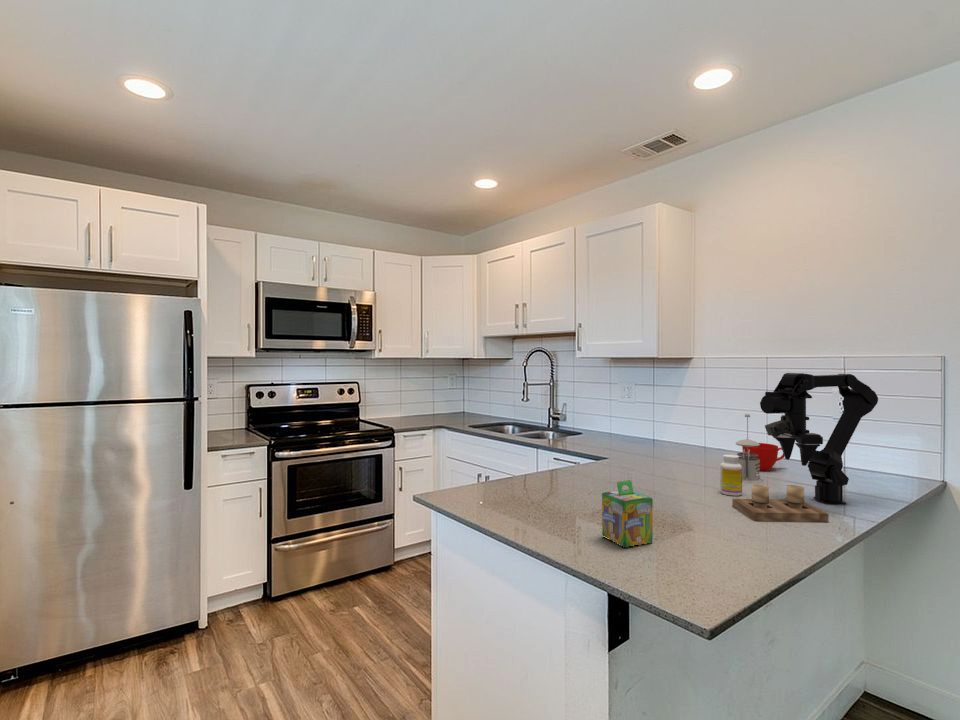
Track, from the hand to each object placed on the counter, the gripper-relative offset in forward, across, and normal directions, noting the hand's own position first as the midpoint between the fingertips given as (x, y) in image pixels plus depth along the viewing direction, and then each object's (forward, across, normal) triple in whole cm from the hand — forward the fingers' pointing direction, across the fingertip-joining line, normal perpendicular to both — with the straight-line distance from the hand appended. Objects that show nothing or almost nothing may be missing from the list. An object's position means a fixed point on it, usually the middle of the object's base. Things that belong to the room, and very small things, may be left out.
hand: (795, 462), depth 157 cm
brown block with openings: (+13, +11, -11) cm, 20 cm away
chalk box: (+13, +35, -60) cm, 71 cm away
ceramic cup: (+13, -50, +15) cm, 54 cm away
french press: (+13, -30, -1) cm, 33 cm away
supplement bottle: (+13, -11, -15) cm, 23 cm away
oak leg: (+13, +11, -6) cm, 18 cm away
